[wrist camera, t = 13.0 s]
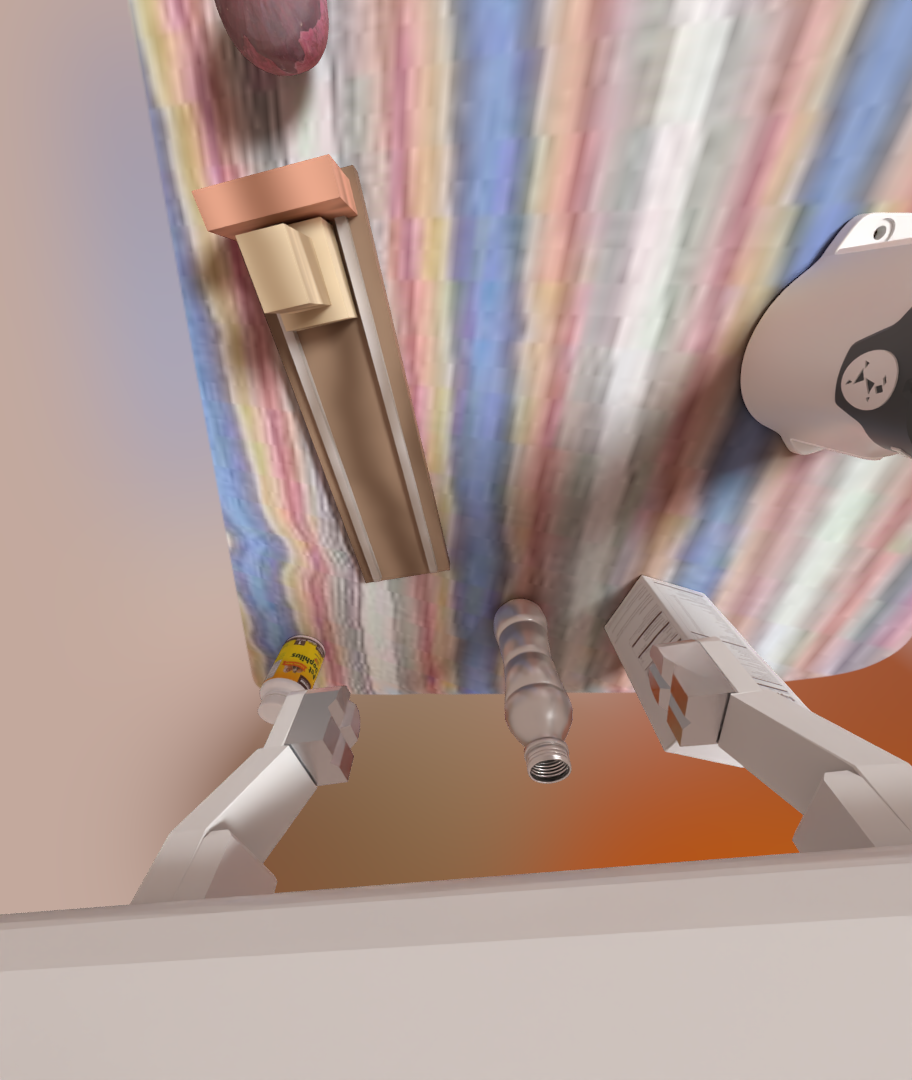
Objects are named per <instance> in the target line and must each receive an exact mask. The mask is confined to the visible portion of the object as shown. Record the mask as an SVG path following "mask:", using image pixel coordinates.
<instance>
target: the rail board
mask: <svg viewBox="0 0 912 1080" xmlns="http://www.w3.org/2000/svg"><path fill="white" fill-rule="evenodd" d="M192 193H193V196H194V198H195V201H196V203H197V206H198V208H199V211H200V213H201V216H202V218H203V221H204V223H205V226H206V228H207V231H209V232H212V233H215V234H218V235H221V236H224V237H227V238H229V239H232V240H235V241H237V239H236V236H235V235H239V234H243V233H247V232H251V231H255V230H259V229H263V228H267V227H271V226H275V225H279V224H282V223H284V224H286V225H289V224H293V223H297V222H301V221H305V220H309V219H313V218H317V217H321V218H323V219H324V220H325V221H327V222H328V223H329V224H331V225H332V226H333V229H334V233H335V236H336V240H337V244H338V247H339V251H340V255H341V258H342V262H343V265H344V269H345V273H346V276H347V280H348V284H349V287H350V291H351V295H352V298H353V302H354V306H355V309H356V313H357V316H358V318H353V319H349V320H344V321H340V322H335V323H331V324H326V325H322V326H317V327H313V328H309V329H304V330H299V331H287V332H286V330H285V327H284V324H283V321H282V318H281V316H280V314H275V313H264V314H265V317H266V320H267V322H268V325H269V328H270V330H271V333H272V336H273V338H274V341H275V344H276V346H277V349H278V351H279V354H280V357H281V359H282V362H283V365H284V367H285V370H286V373H287V375H288V378H289V381H290V383H291V386H292V389H293V391H294V394H295V396H296V399H297V402H298V404H299V407H300V410H301V412H302V415H303V418H304V420H305V423H306V426H307V428H308V431H309V434H310V436H311V439H312V441H313V444H314V447H315V449H316V452H317V455H318V457H319V460H320V463H321V465H322V468H323V471H324V473H325V476H326V479H327V481H328V484H329V487H330V489H331V492H332V494H333V497H334V500H335V502H336V505H337V508H338V510H339V513H340V516H341V518H342V521H343V524H344V526H345V529H346V532H347V534H348V537H349V539H350V542H351V545H352V547H353V550H354V553H355V555H356V558H357V561H358V563H359V566H360V569H361V571H362V574H363V577H364V579H365V582H366V583H369V582H377V581H382V580H388V579H395V578H401V577H408V576H414V575H420V574H427V573H435V572H440V571H446V570H450V561H449V557H448V553H447V549H446V544H445V540H444V536H443V532H442V527H441V523H440V519H439V515H438V510H437V506H436V502H435V498H434V494H433V489H432V485H431V481H430V477H429V472H428V468H427V464H426V460H425V455H424V451H423V447H422V443H421V439H420V434H419V430H418V426H417V422H416V417H415V413H414V409H413V405H412V400H411V396H410V392H409V388H408V383H407V379H406V375H405V371H404V367H403V362H402V358H401V354H400V350H399V345H398V341H397V337H396V333H395V328H394V324H393V320H392V316H391V312H390V307H389V303H388V299H387V295H386V290H385V286H384V282H383V278H382V273H381V269H380V265H379V261H378V257H377V252H376V248H375V244H374V240H373V235H372V231H371V227H370V223H369V218H368V214H367V210H366V206H365V202H364V197H363V193H362V189H361V185H360V180H359V176H358V172H357V170H356V169H355V168H354V166H353V165H351V166H347V167H343V168H339V166H338V165H337V164H336V162H335V161H334V160H333V159H332V157H331V156H330V155H329V154H328V155H324V156H320V157H317V158H313V159H309V160H305V161H302V162H298V163H294V164H291V165H287V166H283V167H279V168H276V169H272V170H268V171H265V172H261V173H257V174H253V175H250V176H246V177H242V178H238V179H235V180H231V181H227V182H224V183H220V184H216V185H212V186H209V187H205V188H201V189H198V190H194V191H192ZM237 243H238V241H237ZM238 246H239V244H238ZM239 248H240V247H239ZM240 251H241V249H240ZM241 254H242V252H241ZM242 256H243V255H242ZM243 259H244V257H243ZM244 261H245V260H244ZM245 264H246V263H245ZM246 267H247V265H246ZM247 269H248V268H247ZM248 272H249V271H248ZM249 275H250V273H249ZM250 277H251V276H250ZM251 280H252V279H251ZM252 283H253V281H252ZM253 285H254V284H253ZM254 288H255V287H254ZM255 291H256V289H255ZM256 293H257V292H256ZM257 296H258V295H257ZM258 299H259V297H258ZM259 301H260V300H259ZM260 304H261V302H260ZM261 306H262V305H261ZM262 309H263V308H262ZM263 312H264V310H263Z"/></svg>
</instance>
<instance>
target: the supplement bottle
mask: <svg viewBox="0 0 912 1080" xmlns="http://www.w3.org/2000/svg"><path fill="white" fill-rule="evenodd" d="M324 657H325V649H324V647H323V645H322V644H321V643H320V642H319V641H318V640H316V639H315V638H312V637H310V636H305V635H298V636H294V637H291V638H290V639H288V640H287V641H286V642H285V644H284V645H283V647H282V649H281V651H280V653H279V655H278V657H277V658H276V660H275V662H274V664H273V666H272V668H271V670H270V671H269V673H268V675H267V677H266V679H265V681H264V683H263V684H262V686H261V689H260V698H261V700H262V701H261V704H260V706H259V708H258V715H259V716H260V717H261V718H262V719H263V720H264V721H266V722H268V723H271V724H274V723H275V721H276V719H277V717H278V715H279V712H280V710H281V708H282V706H283V704H284V701H285V699H286V697H287V696H288V695H289V694H290V693H291V692H292V691H299V690H308V689H312V688H313V685H314V683H315V680H316V678H317V675H318V673H319V670H320V667H321V665H322V662H323V660H324Z"/></svg>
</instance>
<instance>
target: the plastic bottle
mask: <svg viewBox="0 0 912 1080" xmlns="http://www.w3.org/2000/svg"><path fill="white" fill-rule="evenodd" d="M493 628H494V634H495V637H496V640H497V643H498V645H499V647H500V651H501V655H502V659H503V663H504V673H505V720H506V722H507V725H508V726H509V729H510V731H511V733H512V734H513V735H514V736H515V737H516V739H517V740H518V741H519V742H520V743H521V744H522V745H524V747H525V749H524V757H525V760H526V763H527V770H528V774H529V777H530V778H531V779H532V780H534V781H536V782H539V783H555V782H558V781H561V780H563V779H565V778H566V777H567V776H569V774H570V773H571V764H570V760H569V750H568V746H567V744H566V742H564V741H565V738H566V737H567V735H568V732H569V729H570V726H571V724H572V711H573V710H572V705H571V702H570V700H569V697H568V695H567V693H566V691H565V689H564V687H563V685H562V682H561V680H560V678H559V676H558V674H557V671H556V668H555V665H554V663H553V660H552V657H551V653H550V648H549V642H548V627H547V620H546V617H545V615H544V614H543V612H542V610H541V608H540V607H539V606H538V605H537V604H535V603H534V602H532V601H529V600H526V599H514V600H510V601H508V602H506V603H505V604H504V605H502V606H501V607H500V608H499V610H498V611H497V612H496V615H495V618H494V627H493Z"/></svg>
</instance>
